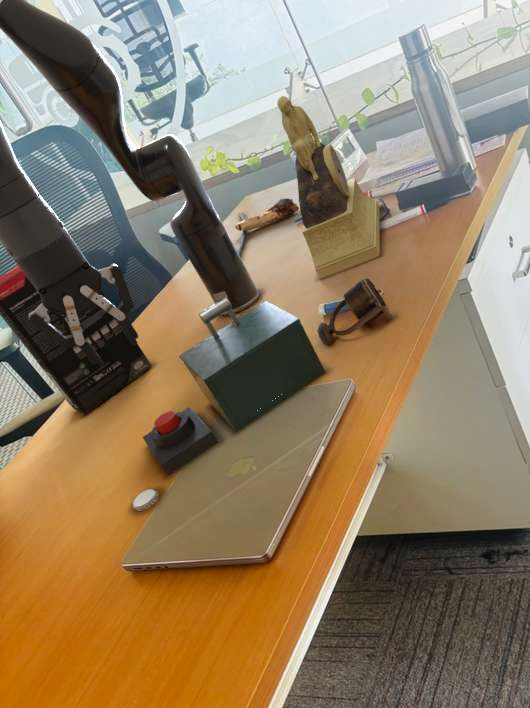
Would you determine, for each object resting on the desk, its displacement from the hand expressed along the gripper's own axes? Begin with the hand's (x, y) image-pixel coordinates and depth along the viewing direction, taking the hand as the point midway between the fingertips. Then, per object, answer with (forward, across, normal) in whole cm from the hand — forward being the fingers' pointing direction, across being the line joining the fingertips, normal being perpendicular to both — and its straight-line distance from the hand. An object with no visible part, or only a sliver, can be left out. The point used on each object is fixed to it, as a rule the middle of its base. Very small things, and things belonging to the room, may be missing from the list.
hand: (117, 352), depth 98 cm
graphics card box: (+18, +4, -38) cm, 42 cm away
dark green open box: (+17, -16, 0) cm, 24 cm away
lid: (+8, -16, 0) cm, 18 cm away
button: (+14, 0, 0) cm, 14 cm away
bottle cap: (+17, +9, +9) cm, 22 cm away
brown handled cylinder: (+18, -35, -1) cm, 39 cm away
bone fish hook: (+18, -53, -82) cm, 99 cm away
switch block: (+17, 0, 0) cm, 17 cm away
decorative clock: (+18, -54, -37) cm, 68 cm away
